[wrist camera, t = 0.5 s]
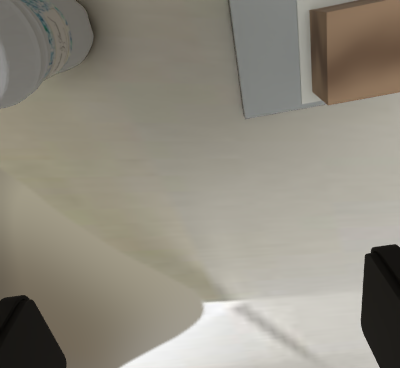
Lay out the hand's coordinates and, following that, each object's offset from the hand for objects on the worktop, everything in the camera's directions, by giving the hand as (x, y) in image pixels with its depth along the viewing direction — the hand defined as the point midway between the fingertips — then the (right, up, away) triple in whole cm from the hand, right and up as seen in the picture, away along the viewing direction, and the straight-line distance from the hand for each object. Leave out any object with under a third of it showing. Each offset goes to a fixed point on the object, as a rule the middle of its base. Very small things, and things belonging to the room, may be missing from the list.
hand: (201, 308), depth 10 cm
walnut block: (+13, +16, +21) cm, 29 cm away
